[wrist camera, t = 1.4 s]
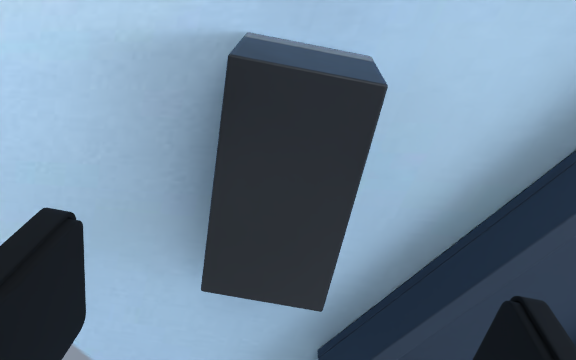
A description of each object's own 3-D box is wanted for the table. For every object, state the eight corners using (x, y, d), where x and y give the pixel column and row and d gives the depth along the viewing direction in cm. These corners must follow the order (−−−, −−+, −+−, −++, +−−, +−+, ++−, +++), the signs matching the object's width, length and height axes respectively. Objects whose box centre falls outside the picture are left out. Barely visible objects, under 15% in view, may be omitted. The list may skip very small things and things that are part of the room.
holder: (317, 349, 21) (318, 397, 19) (747, 17, 14) (833, 29, 11) (442, 432, 23) (455, 482, 21) (867, 186, 16) (957, 224, 14)
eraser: (220, 231, 18) (200, 291, 15) (246, 31, 14) (227, 54, 11) (320, 249, 18) (322, 312, 15) (371, 56, 15) (388, 84, 11)
